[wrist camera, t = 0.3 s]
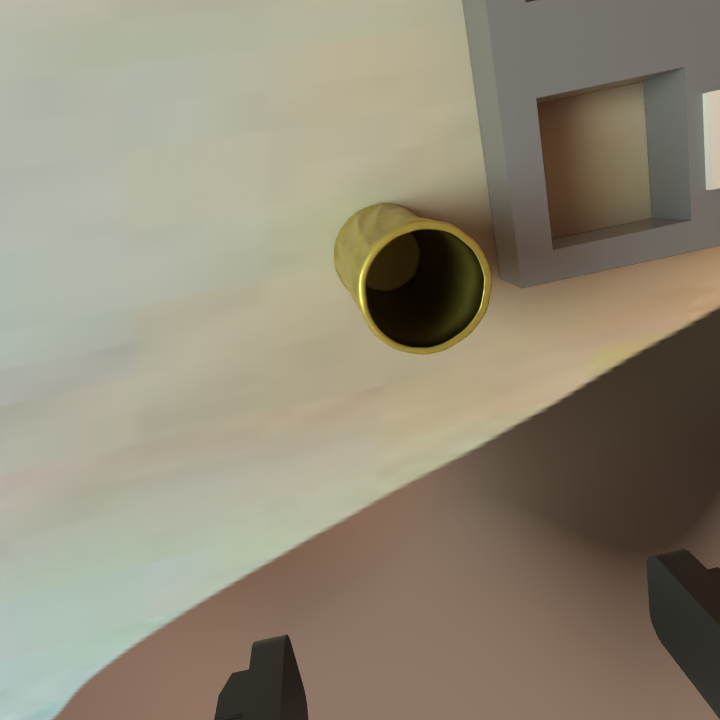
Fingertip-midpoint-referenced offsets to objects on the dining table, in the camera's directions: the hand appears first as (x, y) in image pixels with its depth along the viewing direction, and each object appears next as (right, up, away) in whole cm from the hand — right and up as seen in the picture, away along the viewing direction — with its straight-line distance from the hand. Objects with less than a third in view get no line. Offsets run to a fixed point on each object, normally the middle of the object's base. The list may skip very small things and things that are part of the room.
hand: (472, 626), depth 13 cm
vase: (-1, +12, +24) cm, 27 cm away
